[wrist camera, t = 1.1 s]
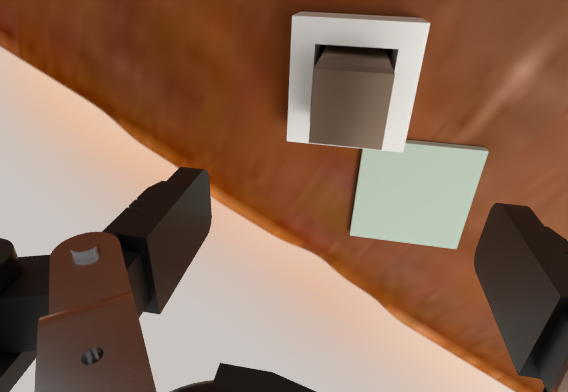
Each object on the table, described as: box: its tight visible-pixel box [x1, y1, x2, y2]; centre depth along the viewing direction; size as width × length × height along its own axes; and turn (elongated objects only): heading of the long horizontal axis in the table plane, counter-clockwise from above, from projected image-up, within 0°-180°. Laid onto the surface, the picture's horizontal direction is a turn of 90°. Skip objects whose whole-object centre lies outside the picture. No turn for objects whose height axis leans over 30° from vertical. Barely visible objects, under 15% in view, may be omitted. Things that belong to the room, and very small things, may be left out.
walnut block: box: [309, 45, 395, 150], centre depth 24 cm, size 4×4×9 cm
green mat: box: [350, 140, 489, 249], centre depth 31 cm, size 9×9×1 cm
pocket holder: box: [287, 11, 430, 153], centre depth 26 cm, size 8×8×4 cm
